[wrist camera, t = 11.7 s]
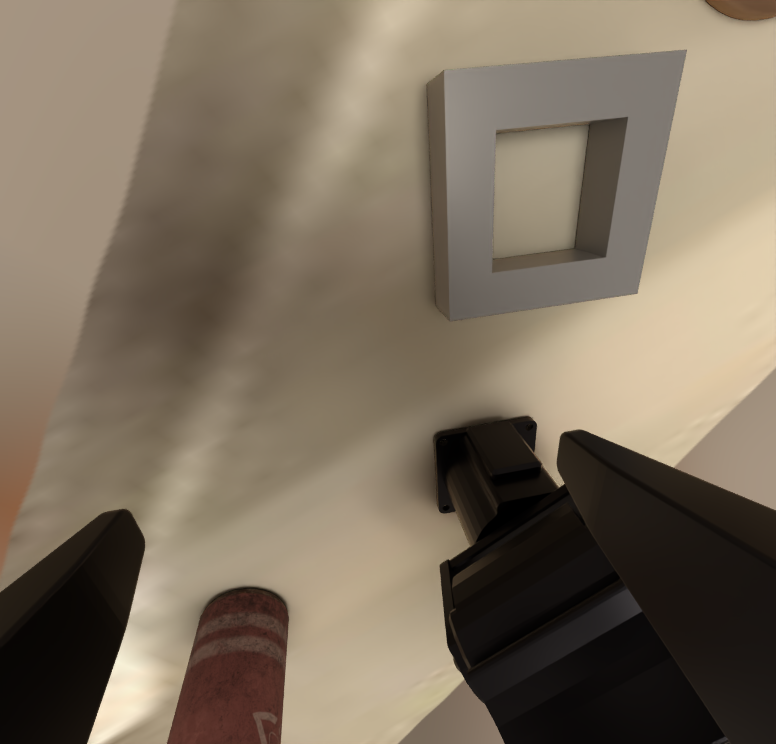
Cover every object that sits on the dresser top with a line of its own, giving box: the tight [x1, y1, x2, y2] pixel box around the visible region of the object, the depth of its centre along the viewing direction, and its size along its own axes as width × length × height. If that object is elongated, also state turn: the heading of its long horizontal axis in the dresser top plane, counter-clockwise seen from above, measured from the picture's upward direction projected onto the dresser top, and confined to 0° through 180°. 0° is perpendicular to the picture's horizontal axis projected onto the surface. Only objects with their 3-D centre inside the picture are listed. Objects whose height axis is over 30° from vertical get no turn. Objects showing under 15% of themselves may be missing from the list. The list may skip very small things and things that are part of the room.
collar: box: [427, 50, 687, 321], centre depth 18 cm, size 10×10×2 cm
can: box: [167, 589, 289, 744], centre depth 23 cm, size 6×6×14 cm
